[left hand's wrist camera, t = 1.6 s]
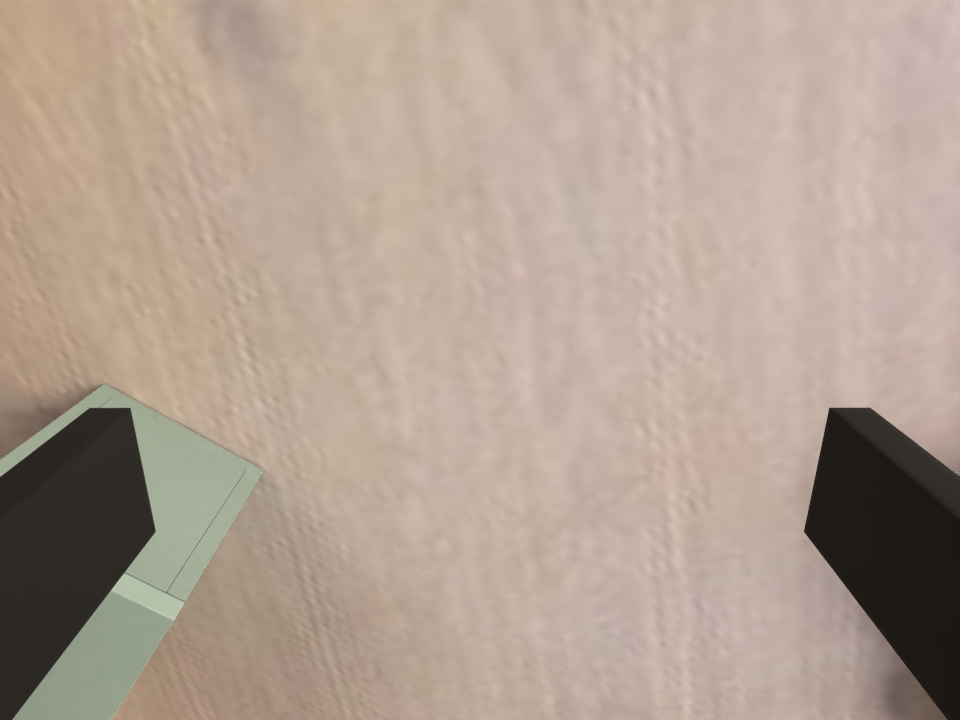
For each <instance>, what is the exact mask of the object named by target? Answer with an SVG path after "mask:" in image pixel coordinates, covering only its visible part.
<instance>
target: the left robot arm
mask: <svg viewBox="0 0 960 720" xmlns="http://www.w3.org/2000/svg"><path fill="white" fill-rule="evenodd" d="M155 532H156V530H155V525H154V520H153V515H152V510H151V505H150V500H149V496H148V491H147V486H146V481H145V476H144V471H143V466H142V461H141V456H140V452H139V447H138V442H137V437H136V432H135V427H134V422H133V417H132V413H131V408H89V409H88V410H86V411H85V412H84V413H82V414H81V415H80V416H79V417H77V418H76V419H75V420H73V421H72V422H71V423H69V424H68V425H67V426H66V427H64V428H63V429H62V430H60V431H59V432H58V433H56V434H55V435H54V436H53V437H51V438H50V439H49V440H47V441H46V442H45V443H43V444H42V445H41V446H40V447H38V448H37V449H36V450H34V451H33V452H32V453H31V454H29V455H28V456H27V457H25V458H24V459H23V460H21V461H20V462H19V463H18V464H16V465H15V466H14V467H12V468H11V469H10V470H8V471H7V472H6V473H5V474H3V475H2V476H1V477H0V720H13V718H14V717H15V716H16V714H17V713H18V712H19V710H20V709H21V708H22V706H23V705H24V704H25V702H26V701H27V700H28V699H29V697H30V696H31V695H32V693H33V692H34V691H35V689H36V688H37V687H38V685H39V684H40V683H41V682H42V680H43V679H44V678H45V676H46V675H47V674H48V672H49V671H50V670H51V668H52V667H53V666H54V664H55V663H56V662H57V661H58V659H59V658H60V657H61V655H62V654H63V653H64V651H65V650H66V649H67V647H68V646H69V645H70V644H71V642H72V641H73V640H74V638H75V637H76V636H77V634H78V633H79V632H80V630H81V629H82V628H83V627H84V625H85V624H86V623H87V621H88V620H89V619H90V617H91V616H92V615H93V613H94V612H95V611H96V609H97V608H98V607H99V606H100V604H101V603H102V602H103V600H104V599H105V598H106V596H107V595H108V594H109V592H110V591H111V590H112V589H113V587H114V586H115V585H116V583H117V582H118V581H119V579H120V578H121V577H122V575H123V574H124V573H125V571H126V570H127V569H128V568H129V566H130V565H131V564H132V562H133V561H134V560H135V558H136V557H137V556H138V554H139V553H140V552H141V551H142V549H143V548H144V547H145V545H146V544H147V543H148V541H149V540H150V539H151V537H152V536H153V535H154V534H155ZM804 532H805V534H806V535H807V536H808V537H809V539H810V540H811V541H812V543H813V544H814V545H815V547H816V548H817V549H818V551H819V552H820V553H821V554H822V556H823V557H824V558H825V560H826V561H827V562H828V564H829V565H830V566H831V568H832V569H833V570H834V571H835V573H836V574H837V575H838V577H839V578H840V579H841V581H842V582H843V583H844V585H845V586H846V587H847V589H848V590H849V591H850V592H851V594H852V595H853V596H854V598H855V599H856V600H857V602H858V603H859V604H860V606H861V607H862V608H863V609H864V611H865V612H866V613H867V615H868V616H869V617H870V619H871V620H872V621H873V623H874V624H875V625H876V627H877V628H878V629H879V630H880V632H881V633H882V634H883V636H884V637H885V638H886V640H887V641H888V642H889V644H890V645H891V646H892V647H893V649H894V650H895V651H896V653H897V654H898V655H899V657H900V658H901V659H902V661H903V662H904V663H905V664H906V666H907V667H908V668H909V670H910V671H911V672H912V674H913V675H914V676H915V678H916V679H917V680H918V682H919V683H920V684H921V685H922V687H923V688H924V689H925V691H926V692H927V693H928V695H929V696H930V697H931V699H932V700H933V701H934V702H935V704H936V705H937V706H938V708H939V709H940V710H941V712H942V713H943V714H944V716H945V717H946V718H947V720H960V477H959V476H958V475H957V474H955V473H954V472H953V471H952V470H950V469H949V468H948V467H946V466H945V465H944V464H942V463H941V462H940V461H939V460H937V459H936V458H935V457H933V456H932V455H931V454H929V453H928V452H927V451H926V450H924V449H923V448H922V447H920V446H919V445H918V444H917V443H915V442H914V441H913V440H911V439H910V438H909V437H907V436H906V435H905V434H904V433H902V432H901V431H900V430H898V429H897V428H896V427H894V426H893V425H892V424H891V423H889V422H888V421H887V420H885V419H884V418H883V417H881V416H880V415H879V414H878V413H876V412H875V411H874V410H872V409H871V408H829V413H828V417H827V422H826V427H825V432H824V437H823V442H822V447H821V452H820V456H819V461H818V466H817V471H816V476H815V481H814V486H813V491H812V496H811V500H810V505H809V510H808V515H807V520H806V525H805V530H804Z"/></svg>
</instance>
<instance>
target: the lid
mask: <svg viewBox="0 0 960 720" xmlns="http://www.w3.org/2000/svg"><path fill="white" fill-rule="evenodd" d="M183 605H184V602H183V601H181V600H179V599H177V598H175V597H173V596H170V595H168V594H166V593H164V592H162V591H160V590H158V589H156V588H154V587H152V586H150V585H148V584H146V583H144V582H142V581H140V580H138V579H136V578H134V577H132V576H129V575H127V574H125V573H124V574H123V575H122V577H121V578H120V579H119V581H118V582H117V583H116V585H115V586H114V587H113V589H112V590H111V591H110V592H109V594H108V595H107V596H106V598H105V599H104V600H103V602H102V603H101V604H100V606H99V607H98V608H97V609H96V611H95V612H94V613H93V615H92V616H91V617H90V619H89V620H88V621H87V623H86V624H85V625H84V627H83V628H82V629H81V630H80V632H79V633H78V634H77V636H76V637H75V638H74V640H73V641H72V642H71V644H70V645H69V646H68V647H67V649H66V650H65V651H64V653H63V654H62V655H61V657H60V658H59V659H58V661H57V662H56V663H55V664H54V666H53V667H52V668H51V670H50V671H49V672H48V674H47V675H46V676H45V678H44V679H43V680H42V682H41V683H40V684H39V685H38V687H37V688H36V689H35V691H34V692H33V693H32V695H31V696H30V697H29V699H28V700H27V701H26V702H25V704H24V705H23V706H22V708H21V709H20V710H19V712H18V713H17V714H16V716H15V717H14V718H13V720H112V718H113V716H114V715H115V713H116V712H117V710H118V708H119V707H120V705H121V704H122V702H123V700H124V699H125V697H126V696H127V694H128V693H129V691H130V689H131V688H132V686H133V685H134V683H135V681H136V680H137V678H138V677H139V675H140V674H141V672H142V670H143V669H144V667H145V666H146V664H147V662H148V661H149V659H150V658H151V656H152V655H153V653H154V651H155V650H156V648H157V647H158V645H159V643H160V642H161V640H162V639H163V637H164V636H165V634H166V632H167V631H168V629H169V628H170V626H171V624H172V623H173V621H174V620H175V618H176V616H177V615H178V613H179V611H180V610H181V608H182V606H183Z"/></svg>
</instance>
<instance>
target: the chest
mask: <svg viewBox="0 0 960 720" xmlns="http://www.w3.org/2000/svg"><path fill="white" fill-rule="evenodd" d="M89 408H131V413H132V417H133V422H134V427H135V432H136V437H137V442H138V447H139V452H140V456H141V461H142V466H143V471H144V476H145V481H146V486H147V491H148V496H149V500H150V505H151V510H152V515H153V520H154V525H155V530H156V532H155V534H154V535H153V536H152V537H151V539H150V540H149V541H148V543H147V544H146V545H145V547H144V548H143V549H142V551H141V552H140V553H139V554H138V556H137V557H136V558H135V560H134V561H133V562H132V564H131V565H130V566H129V568H128V569H127V570H126V571H125V574H127V575H129V576H132V577H134V578H136V579H138V580H140V581H142V582H144V583H146V584H148V585H150V586H152V587H154V588H156V589H158V590H160V591H162V592H164V593H166V594H168V595H170V596H173V597H175V598H177V599H179V600H181V601H183V602H184V603H185V601H186V600H187V598H188V596H189V595H190V593H191V591H192V590H193V588H194V586H195V585H196V583H197V581H198V580H199V578H200V576H201V575H202V573H203V571H204V570H205V568H206V566H207V565H208V563H209V561H210V560H211V558H212V556H213V555H214V553H215V551H216V550H217V548H218V546H219V545H220V543H221V541H222V540H223V538H224V536H225V535H226V533H227V531H228V530H229V528H230V526H231V525H232V523H233V521H234V520H235V518H236V516H237V515H238V513H239V511H240V510H241V508H242V506H243V505H244V503H245V501H246V500H247V498H248V496H249V495H250V493H251V491H252V490H253V488H254V486H255V485H256V483H257V481H258V480H259V478H260V476H261V475H262V473H263V471H264V470H263V469H261V468H259V467H257V466H256V465H254V464H252V463H250V462H248V461H246V460H245V459H243V458H241V457H239V456H237V455H235V454H234V453H232V452H230V451H228V450H226V449H224V448H222V447H221V446H219V445H217V444H215V443H213V442H211V441H210V440H208V439H206V438H204V437H202V436H200V435H199V434H197V433H195V432H193V431H191V430H189V429H188V428H186V427H184V426H182V425H180V424H178V423H176V422H175V421H173V420H171V419H169V418H167V417H165V416H164V415H162V414H160V413H158V412H156V411H154V410H153V409H151V408H149V407H147V406H145V405H143V404H142V403H140V402H138V401H136V400H134V399H132V398H130V397H129V396H127V395H125V394H123V393H121V392H119V391H118V390H116V389H114V388H112V387H110V386H108V385H107V384H103V385H102V386H100V387H99V388H97V389H96V390H95V391H94V392H92V393H91V394H90V395H88V396H87V397H85V398H84V399H83V400H81V401H80V402H79V403H77V404H76V405H74V406H73V407H72V408H70V409H69V410H68V411H66V412H65V413H63V414H62V415H61V416H59V417H58V418H57V419H55V420H54V421H52V422H51V423H50V424H48V425H47V426H46V427H44V428H43V429H41V430H40V431H39V432H37V433H36V434H35V435H33V436H32V437H30V438H29V439H28V440H26V441H25V442H24V443H22V444H21V445H19V446H18V447H17V448H15V449H14V450H13V451H11V452H10V453H9V454H7V455H6V456H4V457H3V458H2V459H0V477H1V476H2V475H3V474H5V473H6V472H7V471H8V470H10V469H11V468H12V467H14V466H15V465H16V464H18V463H19V462H20V461H21V460H23V459H24V458H25V457H27V456H28V455H29V454H31V453H32V452H33V451H34V450H36V449H37V448H38V447H40V446H41V445H42V444H43V443H45V442H46V441H47V440H49V439H50V438H51V437H53V436H54V435H55V434H56V433H58V432H59V431H60V430H62V429H63V428H64V427H66V426H67V425H68V424H69V423H71V422H72V421H73V420H75V419H76V418H77V417H79V416H80V415H81V414H82V413H84V412H85V411H86V410H88V409H89Z"/></svg>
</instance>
